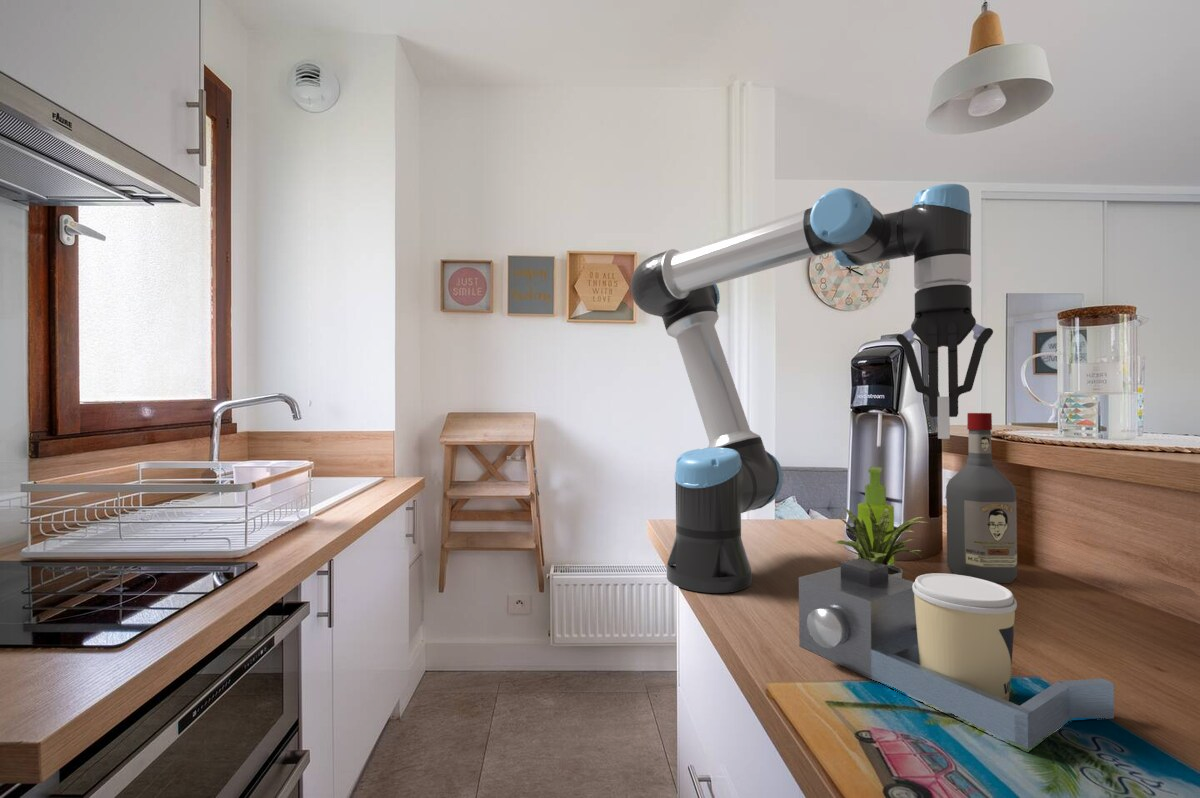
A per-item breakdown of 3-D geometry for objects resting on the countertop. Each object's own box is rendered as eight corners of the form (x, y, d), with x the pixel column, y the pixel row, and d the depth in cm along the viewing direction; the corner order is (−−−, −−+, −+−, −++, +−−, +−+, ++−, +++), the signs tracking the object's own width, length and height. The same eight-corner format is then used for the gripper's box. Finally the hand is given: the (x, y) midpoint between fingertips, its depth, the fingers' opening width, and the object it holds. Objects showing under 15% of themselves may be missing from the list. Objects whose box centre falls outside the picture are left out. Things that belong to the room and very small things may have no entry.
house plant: (947, 636, 72) (946, 516, 72) (836, 622, 77) (835, 510, 77) (923, 600, 86) (922, 499, 86) (830, 590, 90) (829, 494, 91)
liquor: (941, 567, 103) (939, 412, 103) (989, 567, 102) (987, 412, 102) (972, 583, 93) (970, 413, 94) (1025, 584, 93) (1023, 413, 93)
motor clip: (864, 622, 77) (864, 546, 77) (1115, 717, 54) (1114, 607, 54) (789, 649, 69) (788, 564, 69) (1046, 774, 45) (1044, 645, 45)
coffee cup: (1034, 730, 52) (1033, 606, 52) (924, 712, 55) (923, 595, 55) (998, 682, 60) (997, 576, 60) (905, 669, 63) (904, 568, 64)
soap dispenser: (895, 573, 99) (894, 466, 99) (893, 584, 93) (892, 470, 94) (861, 568, 102) (860, 464, 103) (856, 578, 96) (855, 468, 97)
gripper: (992, 286, 82) (994, 438, 82) (897, 296, 90) (898, 435, 90) (995, 277, 76) (997, 441, 76) (892, 288, 84) (893, 438, 83)
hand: (943, 438), depth 83 cm, fingers closed
